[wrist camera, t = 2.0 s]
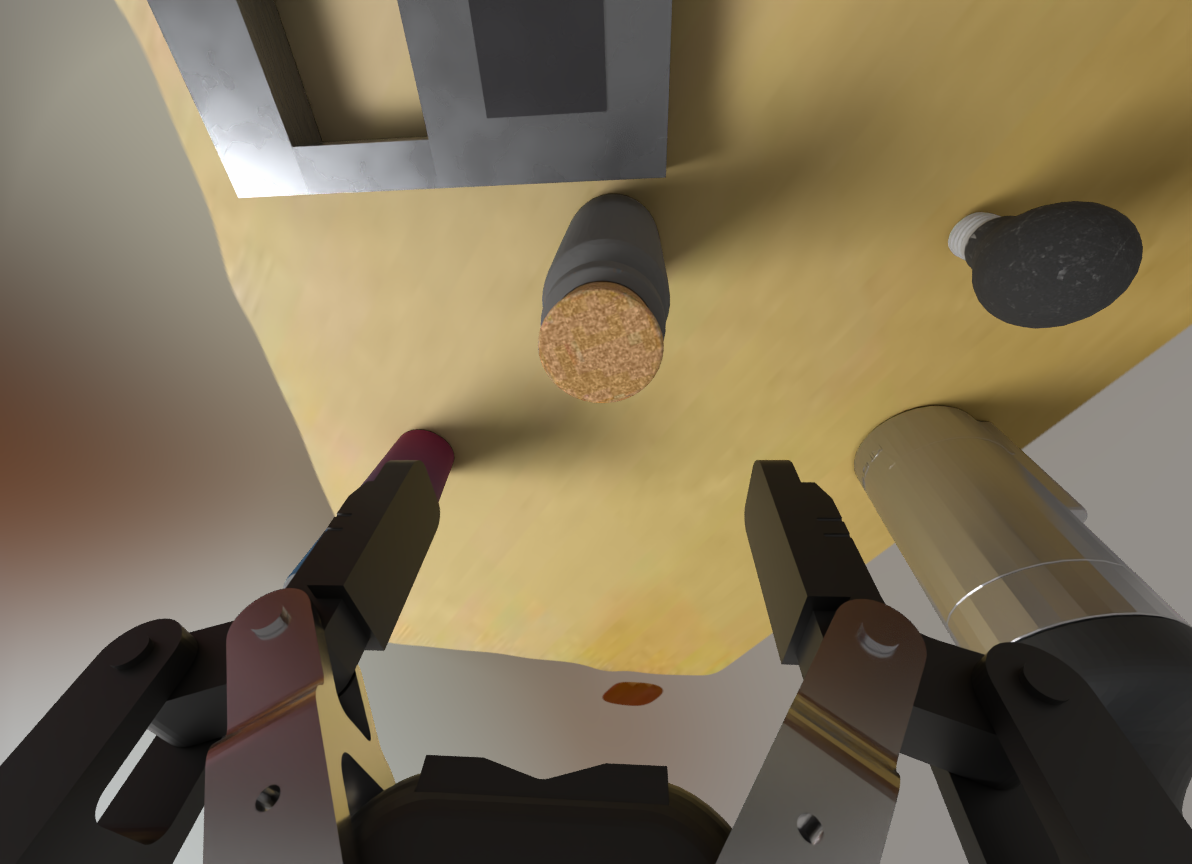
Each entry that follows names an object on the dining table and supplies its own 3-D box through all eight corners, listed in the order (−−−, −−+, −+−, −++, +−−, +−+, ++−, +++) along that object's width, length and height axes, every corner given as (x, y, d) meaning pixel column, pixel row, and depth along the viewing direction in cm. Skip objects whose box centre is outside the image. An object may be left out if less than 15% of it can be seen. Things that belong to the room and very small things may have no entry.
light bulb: (893, 269, 29) (993, 337, 21) (947, 169, 26) (1090, 205, 18) (977, 284, 29) (1108, 357, 21) (1042, 187, 26) (1225, 230, 18)
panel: (672, -155, 19) (679, -191, 17) (662, 169, 27) (665, 177, 24) (150, -101, 21) (86, -126, 19) (271, 188, 28) (237, 197, 26)
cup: (476, 475, 42) (414, 629, 30) (409, 485, 43) (324, 637, 31) (444, 414, 38) (358, 564, 26) (372, 427, 39) (258, 576, 27)
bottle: (657, 287, 31) (675, 415, 19) (570, 290, 31) (533, 416, 19) (660, 190, 27) (684, 269, 15) (562, 194, 28) (510, 274, 16)
